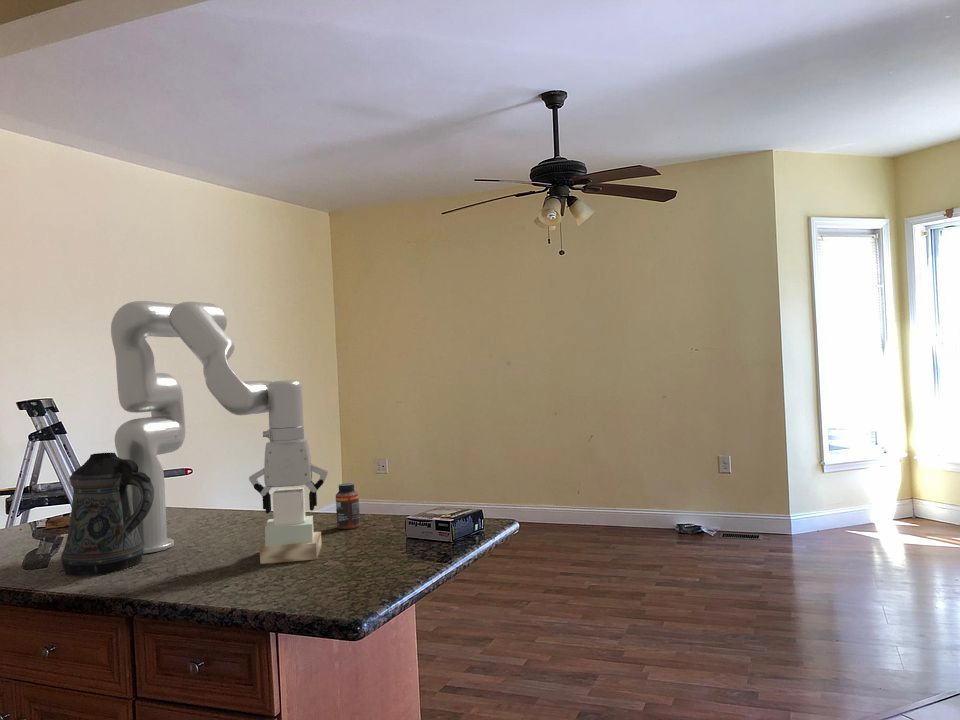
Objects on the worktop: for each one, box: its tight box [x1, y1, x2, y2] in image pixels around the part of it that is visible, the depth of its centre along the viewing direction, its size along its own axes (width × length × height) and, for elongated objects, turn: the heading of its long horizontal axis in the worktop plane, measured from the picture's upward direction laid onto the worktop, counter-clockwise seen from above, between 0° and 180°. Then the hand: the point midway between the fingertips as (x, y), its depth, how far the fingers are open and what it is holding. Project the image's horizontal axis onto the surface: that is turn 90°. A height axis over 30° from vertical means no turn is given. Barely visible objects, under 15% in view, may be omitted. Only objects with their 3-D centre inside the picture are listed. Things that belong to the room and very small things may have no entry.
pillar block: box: [272, 487, 306, 525], centre depth 166 cm, size 6×6×7 cm
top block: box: [264, 515, 315, 546], centre depth 166 cm, size 10×10×4 cm
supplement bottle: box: [335, 482, 361, 530], centre depth 193 cm, size 6×6×11 cm
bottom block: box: [259, 531, 323, 565], centre depth 166 cm, size 12×12×4 cm
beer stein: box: [60, 452, 154, 577], centre depth 165 cm, size 16×19×25 cm
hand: (290, 510), depth 167 cm, fingers open, 9 cm apart
